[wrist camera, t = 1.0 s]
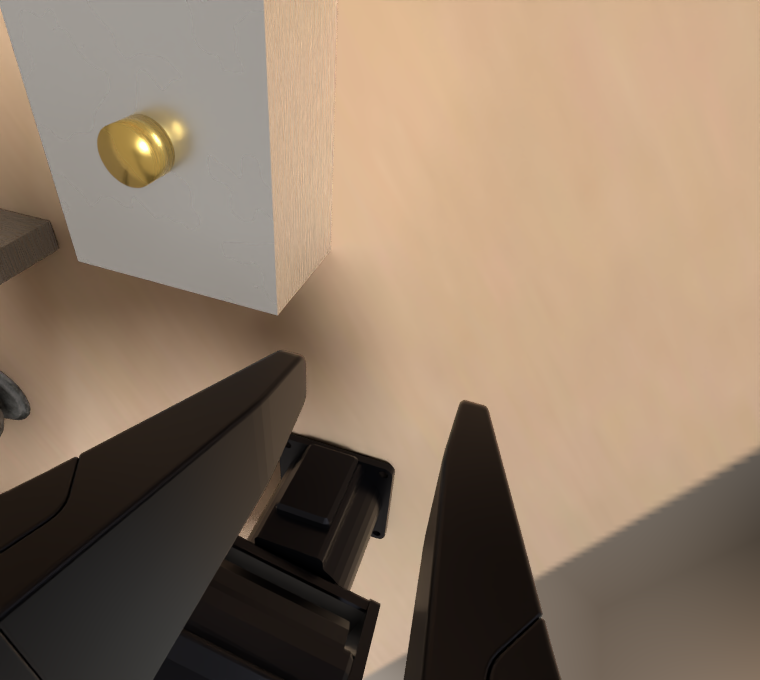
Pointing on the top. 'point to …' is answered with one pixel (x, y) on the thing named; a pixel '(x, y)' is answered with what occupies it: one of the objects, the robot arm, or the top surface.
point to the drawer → (188, 136)
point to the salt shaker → (11, 401)
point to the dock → (23, 242)
